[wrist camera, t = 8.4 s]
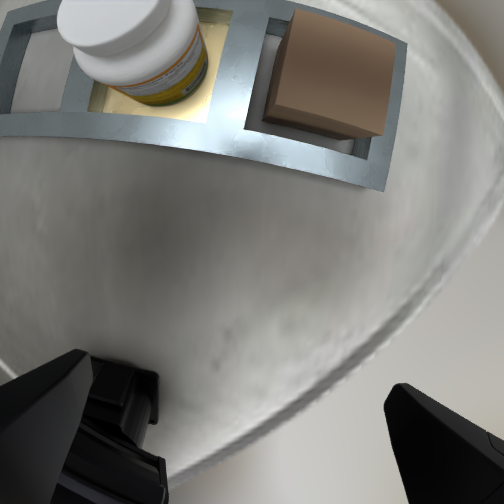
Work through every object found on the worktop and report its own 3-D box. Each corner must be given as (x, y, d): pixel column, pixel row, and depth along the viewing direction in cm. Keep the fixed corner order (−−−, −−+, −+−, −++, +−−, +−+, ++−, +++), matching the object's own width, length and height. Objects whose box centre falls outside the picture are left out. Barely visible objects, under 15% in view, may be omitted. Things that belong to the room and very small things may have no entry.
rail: (366, 187, 19) (383, 192, 16) (-6, 136, 15) (-26, 137, 13) (389, 53, 16) (407, 43, 13) (24, 20, 12) (8, 11, 10)
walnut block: (339, 140, 18) (383, 135, 12) (261, 121, 17) (275, 104, 11) (352, 70, 16) (395, 43, 10) (277, 49, 16) (295, 8, 10)
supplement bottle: (120, 44, 14) (44, -22, 5) (202, 22, 14) (180, -73, 5) (129, 118, 16) (38, 91, 7) (215, 97, 16) (196, 34, 7)
